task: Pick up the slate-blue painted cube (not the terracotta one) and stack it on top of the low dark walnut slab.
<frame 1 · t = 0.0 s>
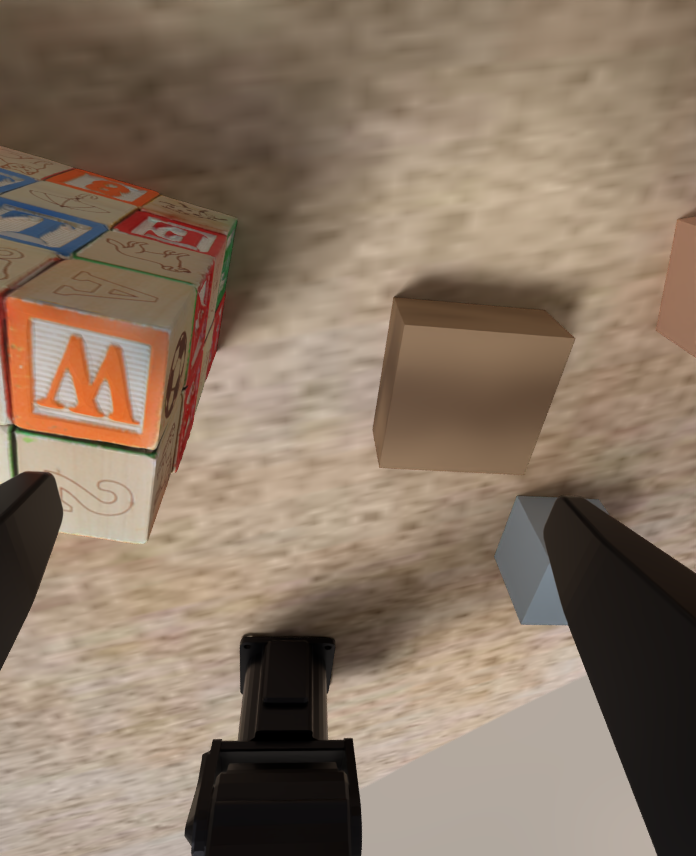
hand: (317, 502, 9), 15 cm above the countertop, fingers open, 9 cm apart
slate cube: (544, 527, 31), on the countertop
walnut slab: (452, 370, 25), on the countertop
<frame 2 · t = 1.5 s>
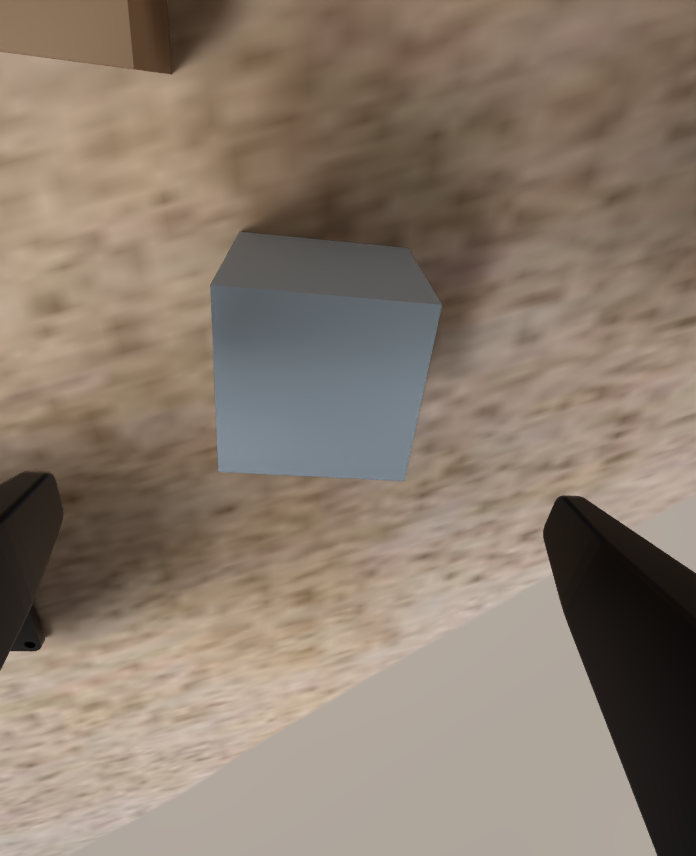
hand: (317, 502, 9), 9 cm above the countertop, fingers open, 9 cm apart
slate cube: (319, 319, 16), on the countertop
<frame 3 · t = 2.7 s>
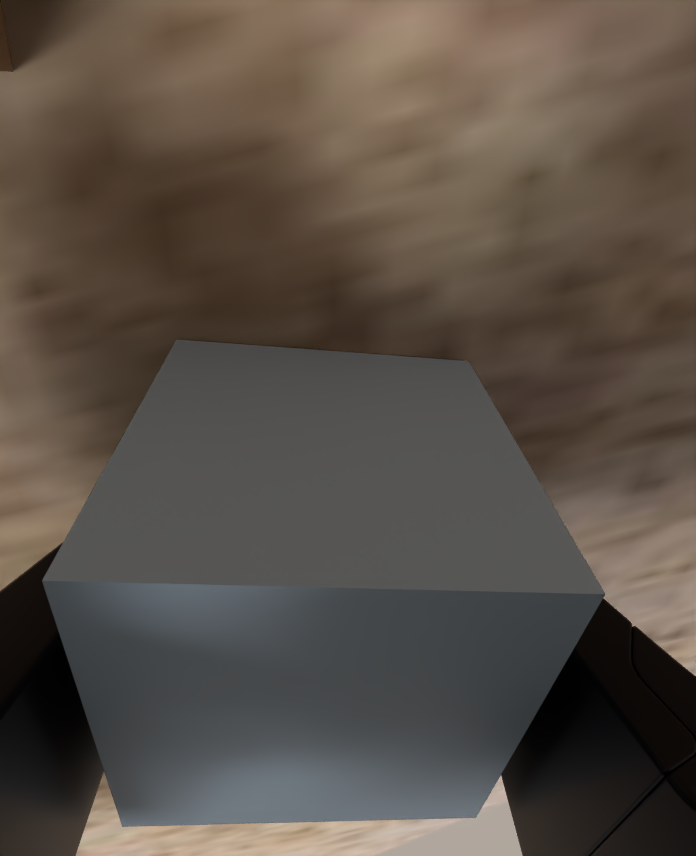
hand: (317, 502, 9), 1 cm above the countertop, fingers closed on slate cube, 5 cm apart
slate cube: (316, 466, 10), on the countertop, touching gripper
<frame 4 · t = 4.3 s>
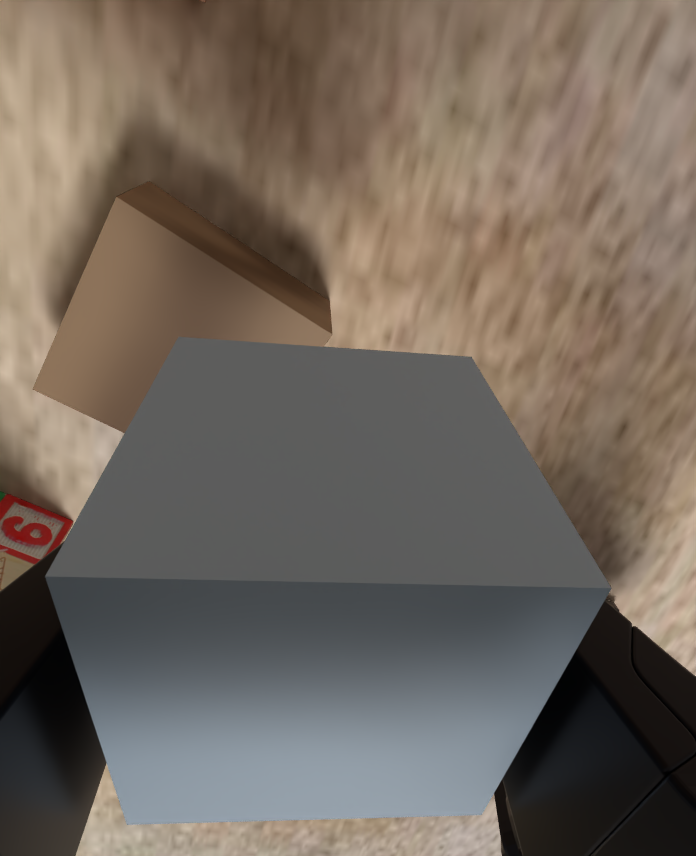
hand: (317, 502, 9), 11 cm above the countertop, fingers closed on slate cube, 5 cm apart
slate cube: (319, 464, 10), point 10 cm above the countertop, touching gripper
walnut slab: (201, 322, 19), on the countertop
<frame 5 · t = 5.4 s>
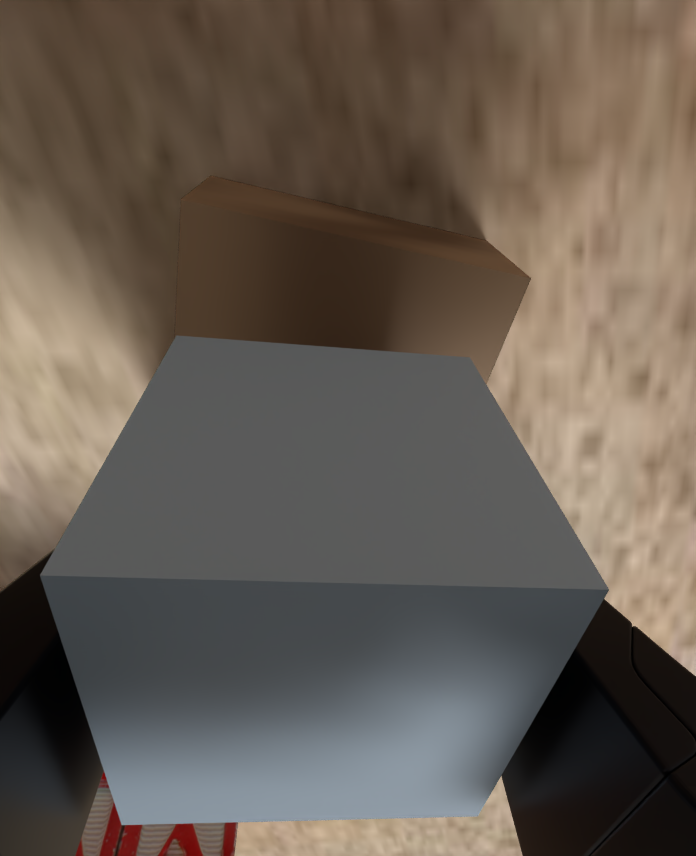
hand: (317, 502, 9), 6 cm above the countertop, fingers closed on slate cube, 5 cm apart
slate cube: (316, 463, 10), point 5 cm above the countertop, touching gripper
walnut slab: (326, 335, 15), on the countertop
stack of blocks: (176, 729, 26), on the countertop
when the fingers open (6 cm above the countertop, at t = 5.9 s): slate cube drops 2 cm, point 3 cm above the countertop.
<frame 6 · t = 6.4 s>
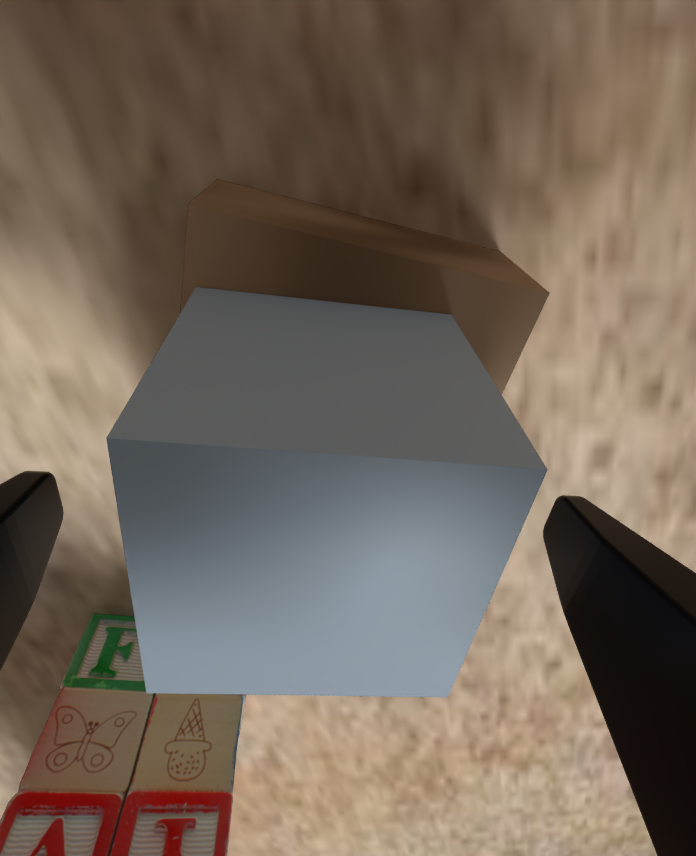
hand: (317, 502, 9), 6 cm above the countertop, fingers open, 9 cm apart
slate cube: (315, 410, 11), point 3 cm above the countertop
walnut slab: (332, 344, 14), on the countertop
stack of blocks: (173, 744, 26), on the countertop
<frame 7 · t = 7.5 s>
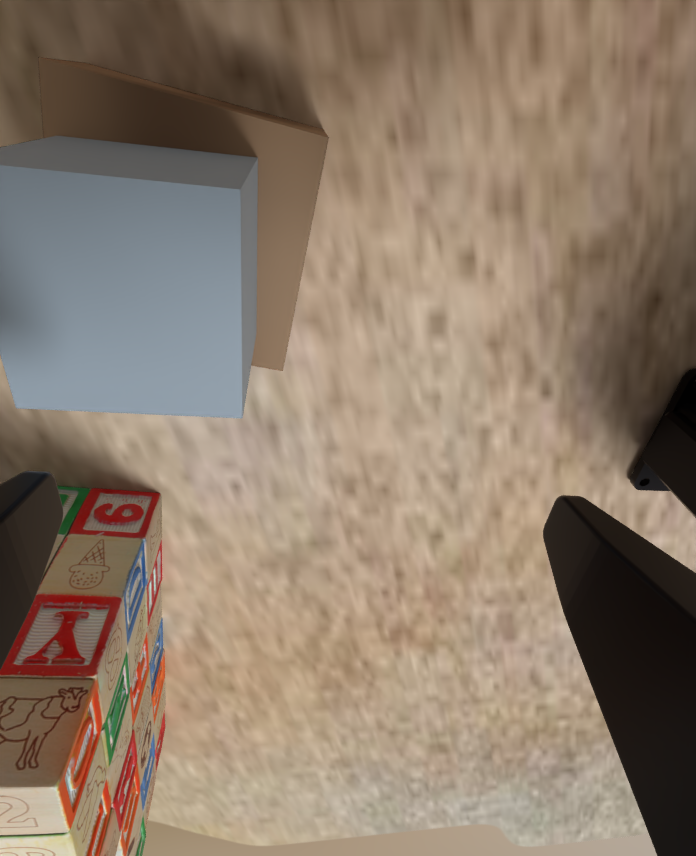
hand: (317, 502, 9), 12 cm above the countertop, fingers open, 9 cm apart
slate cube: (168, 246, 14), point 3 cm above the countertop, touching walnut slab
walnut slab: (201, 216, 17), on the countertop, touching slate cube
stack of blocks: (109, 625, 29), on the countertop
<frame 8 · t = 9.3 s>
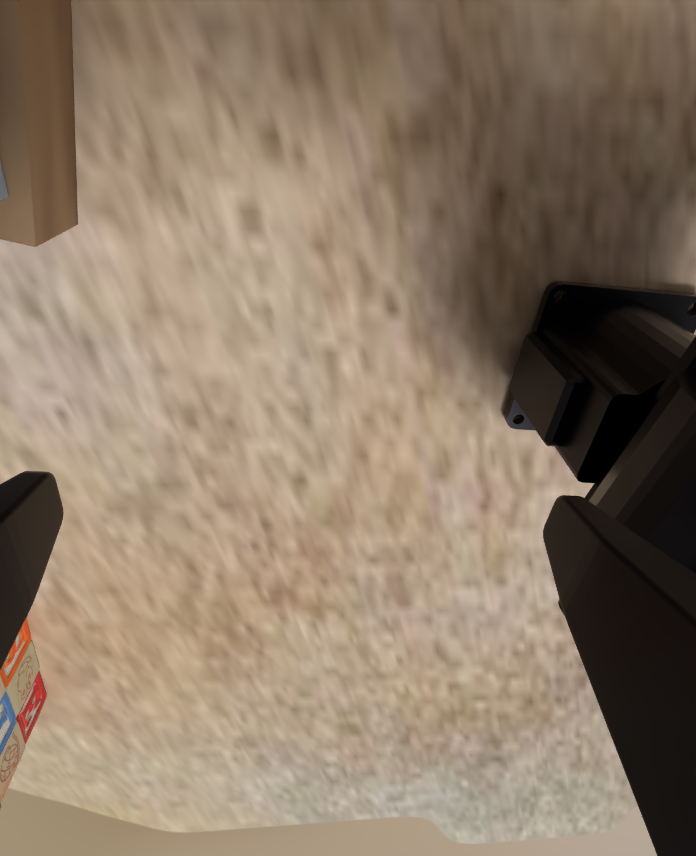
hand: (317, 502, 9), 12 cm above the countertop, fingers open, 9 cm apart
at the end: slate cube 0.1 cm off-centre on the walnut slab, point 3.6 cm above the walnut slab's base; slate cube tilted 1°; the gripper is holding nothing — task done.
